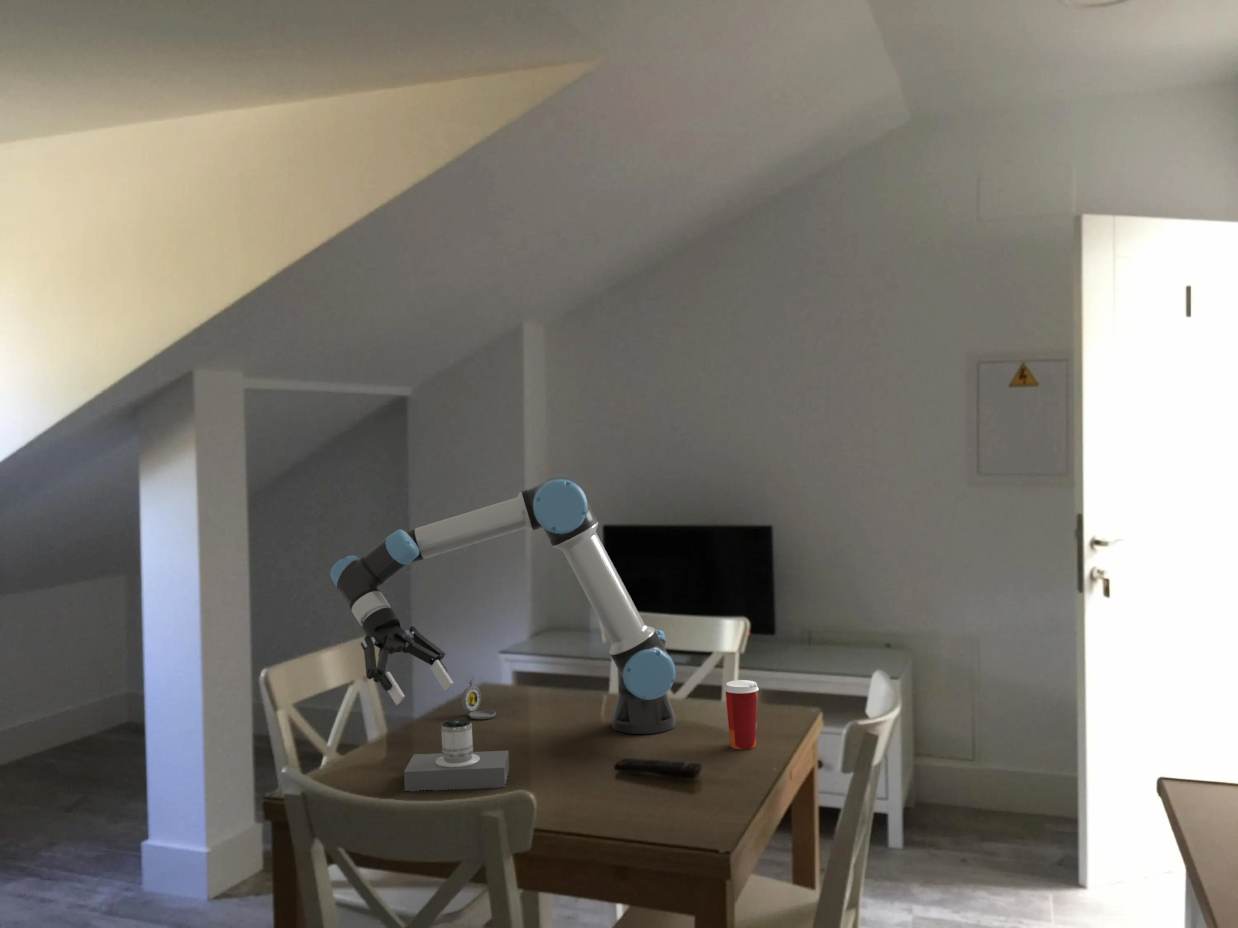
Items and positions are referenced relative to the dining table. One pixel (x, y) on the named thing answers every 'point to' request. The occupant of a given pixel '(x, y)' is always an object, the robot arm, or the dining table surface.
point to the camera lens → (457, 741)
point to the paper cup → (742, 713)
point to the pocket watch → (474, 703)
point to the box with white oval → (457, 772)
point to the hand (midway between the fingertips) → (425, 693)
